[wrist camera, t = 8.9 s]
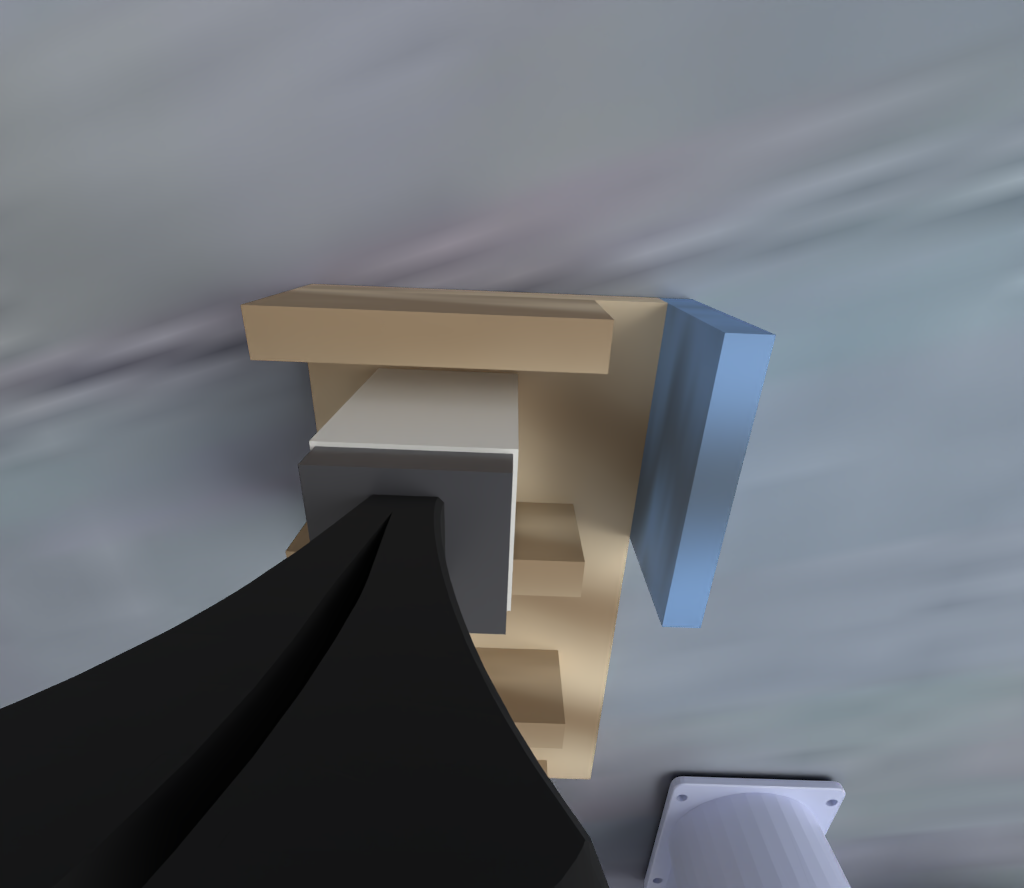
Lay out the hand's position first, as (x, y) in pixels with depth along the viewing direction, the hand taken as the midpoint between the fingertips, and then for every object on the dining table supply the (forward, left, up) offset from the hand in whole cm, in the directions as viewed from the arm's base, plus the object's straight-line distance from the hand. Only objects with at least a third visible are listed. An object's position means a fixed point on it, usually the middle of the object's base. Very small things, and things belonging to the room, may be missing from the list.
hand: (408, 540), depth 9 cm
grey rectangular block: (0, 0, -6) cm, 6 cm away
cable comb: (-6, -2, -7) cm, 10 cm away
